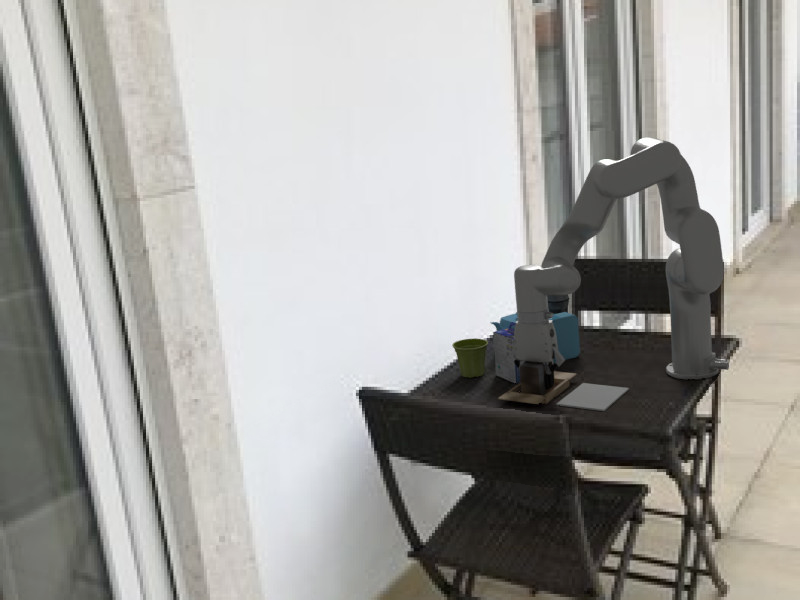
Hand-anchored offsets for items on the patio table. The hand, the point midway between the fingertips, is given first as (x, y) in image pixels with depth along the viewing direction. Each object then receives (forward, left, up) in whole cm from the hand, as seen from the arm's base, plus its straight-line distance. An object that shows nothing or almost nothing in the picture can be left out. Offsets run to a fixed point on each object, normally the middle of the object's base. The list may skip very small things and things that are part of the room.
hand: (538, 386), depth 238 cm
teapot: (+20, -28, -2) cm, 34 cm away
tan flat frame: (0, 0, -2) cm, 2 cm away
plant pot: (+23, -7, -2) cm, 24 cm away
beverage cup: (+15, -43, -2) cm, 46 cm away
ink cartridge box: (+11, -8, -2) cm, 14 cm away
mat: (-14, -1, -2) cm, 14 cm away
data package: (+7, -25, -2) cm, 26 cm away
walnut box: (0, 0, -2) cm, 2 cm away
